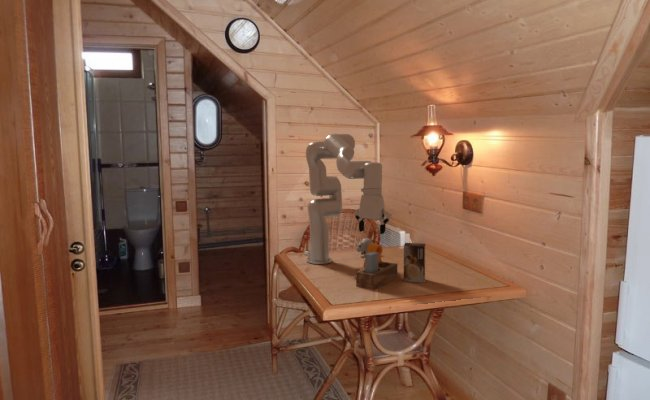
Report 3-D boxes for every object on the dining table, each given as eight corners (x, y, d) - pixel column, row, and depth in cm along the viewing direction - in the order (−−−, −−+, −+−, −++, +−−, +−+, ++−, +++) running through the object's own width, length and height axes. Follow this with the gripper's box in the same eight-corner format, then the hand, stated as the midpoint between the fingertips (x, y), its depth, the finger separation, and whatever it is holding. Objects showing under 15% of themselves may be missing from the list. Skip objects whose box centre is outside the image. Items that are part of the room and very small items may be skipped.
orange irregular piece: (375, 273, 232) (375, 247, 231) (363, 270, 237) (363, 245, 236) (390, 268, 240) (390, 244, 238) (378, 265, 245) (378, 241, 243)
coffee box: (425, 279, 222) (426, 243, 220) (424, 283, 216) (425, 246, 214) (404, 277, 224) (405, 242, 222) (402, 281, 218) (403, 245, 216)
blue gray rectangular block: (365, 282, 212) (365, 254, 211) (371, 278, 217) (372, 251, 216) (371, 283, 210) (371, 255, 209) (378, 279, 215) (378, 252, 214)
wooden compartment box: (356, 286, 212) (356, 272, 211) (379, 273, 230) (379, 261, 229) (375, 289, 207) (375, 275, 206) (397, 276, 225) (397, 263, 225)
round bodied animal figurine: (351, 255, 266) (351, 239, 265) (365, 251, 274) (366, 236, 273) (361, 257, 261) (361, 241, 260) (376, 253, 269) (376, 238, 268)
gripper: (350, 191, 211) (349, 231, 214) (387, 194, 202) (386, 236, 204) (358, 189, 218) (358, 228, 220) (395, 192, 208) (394, 233, 211)
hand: (371, 232), depth 212 cm, fingers open, 9 cm apart
